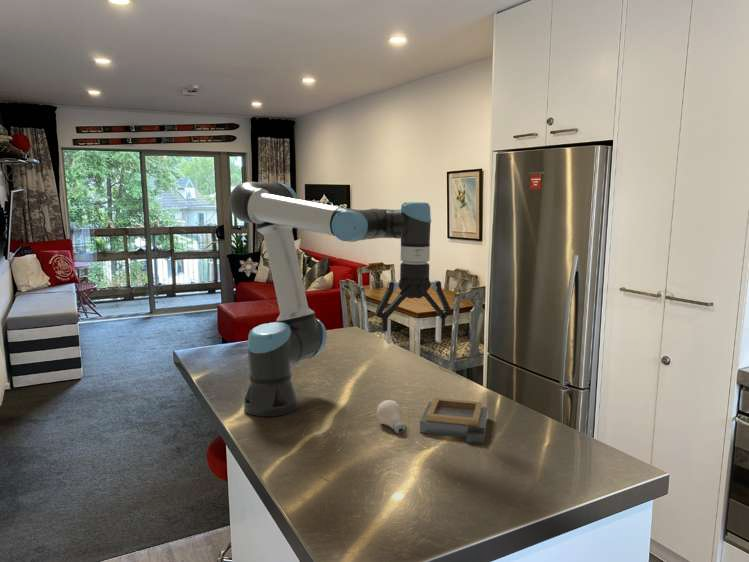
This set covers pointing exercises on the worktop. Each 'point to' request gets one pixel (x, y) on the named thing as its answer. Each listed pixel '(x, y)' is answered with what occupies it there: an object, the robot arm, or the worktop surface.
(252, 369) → the robot arm
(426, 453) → the worktop surface
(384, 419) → the light bulb
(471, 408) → the grey brown-rimmed square tray
